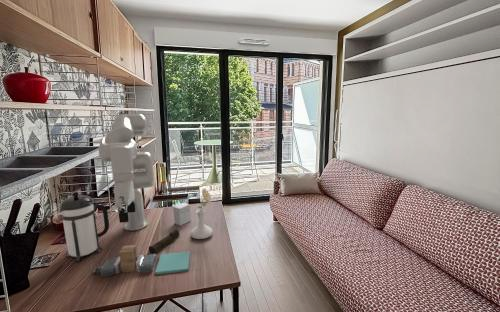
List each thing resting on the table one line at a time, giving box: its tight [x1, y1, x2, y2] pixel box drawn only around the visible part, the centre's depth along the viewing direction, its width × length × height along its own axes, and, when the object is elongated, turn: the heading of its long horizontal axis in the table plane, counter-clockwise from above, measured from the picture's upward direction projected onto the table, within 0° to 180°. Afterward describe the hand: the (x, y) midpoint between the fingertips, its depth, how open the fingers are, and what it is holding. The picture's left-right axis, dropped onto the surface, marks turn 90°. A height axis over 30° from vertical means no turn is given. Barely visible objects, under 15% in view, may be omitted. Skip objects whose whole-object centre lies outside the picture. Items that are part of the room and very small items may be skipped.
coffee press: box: [57, 191, 110, 263], centre depth 117 cm, size 17×16×30 cm
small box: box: [172, 202, 192, 226], centre depth 149 cm, size 8×6×10 cm
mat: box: [154, 251, 191, 275], centre depth 110 cm, size 13×13×1 cm
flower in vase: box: [190, 188, 213, 240], centre depth 132 cm, size 13×11×25 cm
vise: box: [92, 253, 158, 277], centre depth 107 cm, size 8×23×4 cm, turn 99°
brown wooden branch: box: [148, 229, 180, 254], centre depth 125 cm, size 19×4×5 cm, turn 152°
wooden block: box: [118, 244, 138, 273], centre depth 106 cm, size 5×5×9 cm
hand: (128, 216), depth 103 cm, fingers open, 9 cm apart
